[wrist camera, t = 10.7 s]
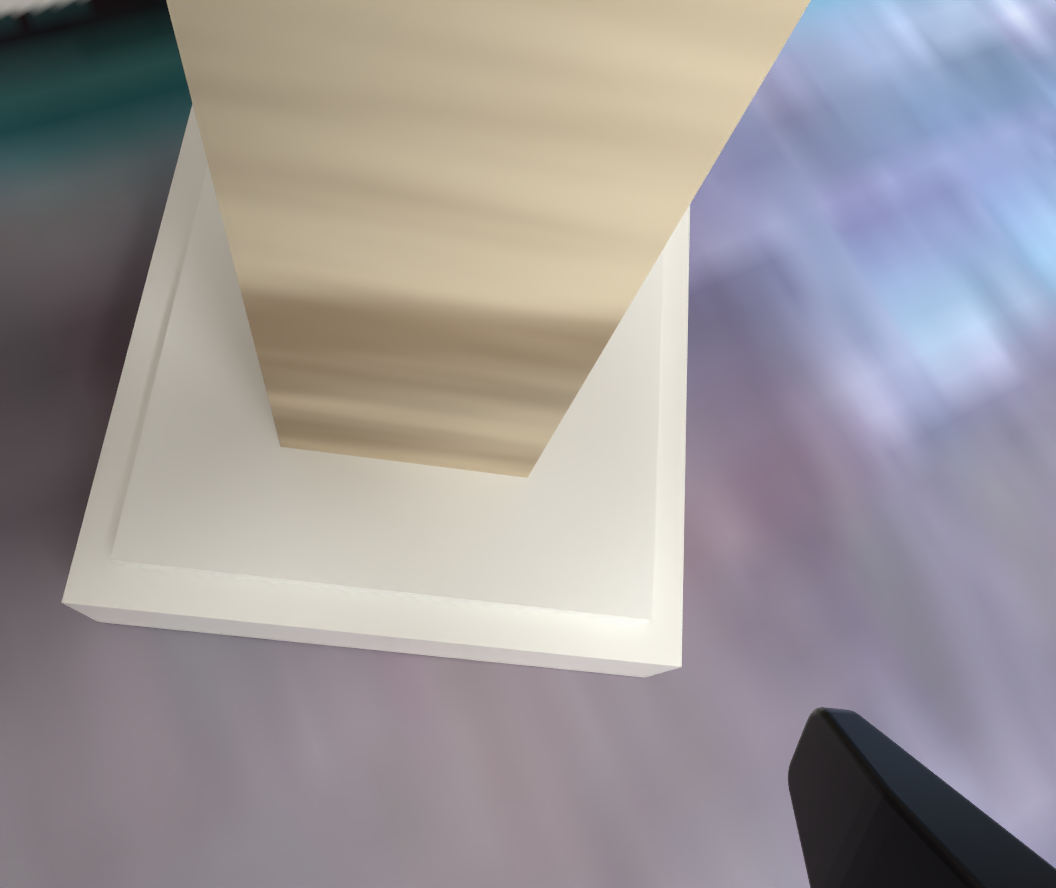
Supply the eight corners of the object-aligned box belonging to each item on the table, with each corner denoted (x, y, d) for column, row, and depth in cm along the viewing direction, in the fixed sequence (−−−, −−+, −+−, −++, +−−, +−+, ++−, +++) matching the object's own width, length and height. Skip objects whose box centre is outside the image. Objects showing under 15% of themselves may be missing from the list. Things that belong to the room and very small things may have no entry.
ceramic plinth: (644, 677, 20) (689, 664, 18) (98, 621, 19) (52, 597, 16) (659, 233, 25) (697, 166, 22) (213, 155, 23) (192, 72, 20)
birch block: (527, 477, 18) (933, -208, 5) (280, 447, 18) (54, -431, 5) (543, 268, 20) (880, -636, 7) (319, 232, 19) (236, -846, 6)
